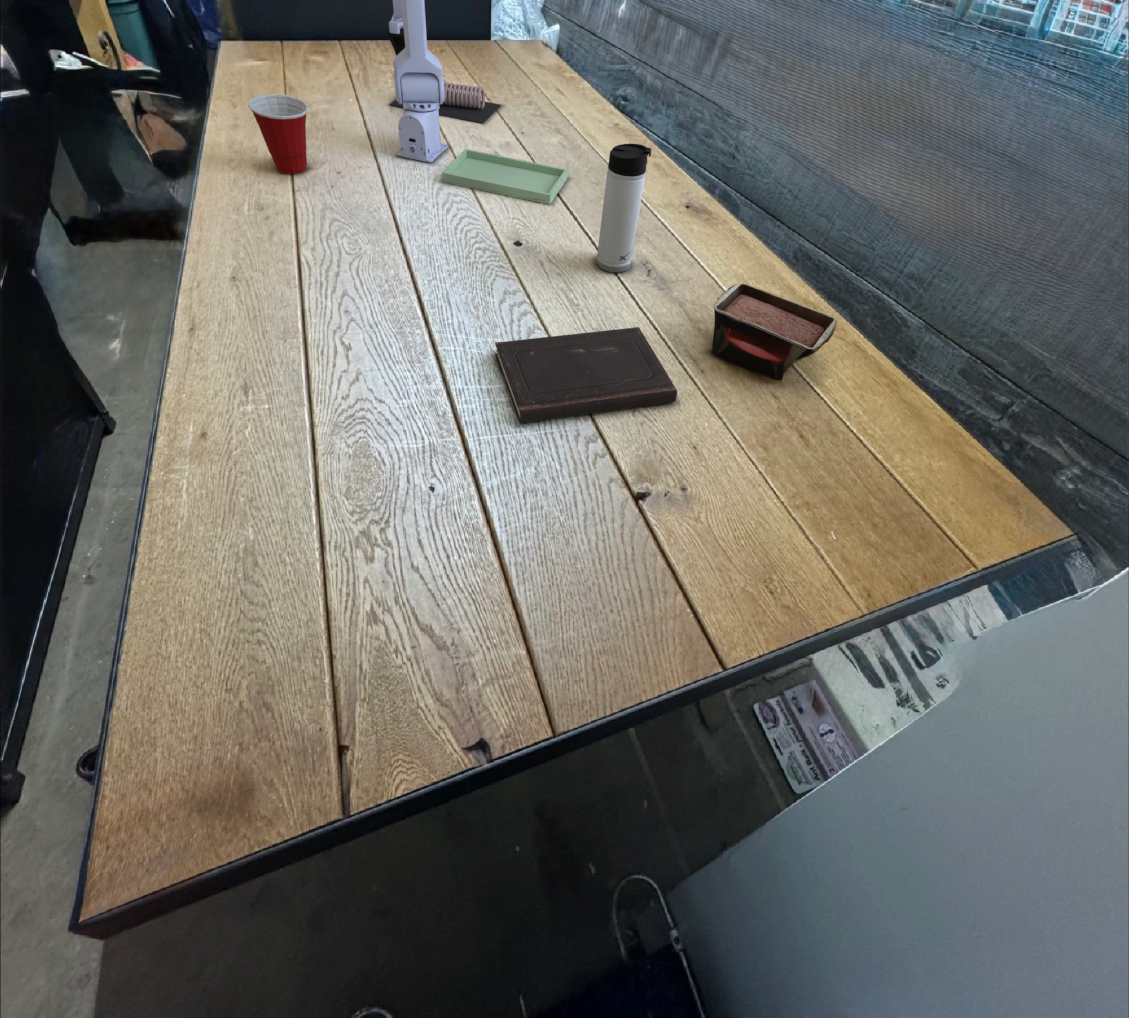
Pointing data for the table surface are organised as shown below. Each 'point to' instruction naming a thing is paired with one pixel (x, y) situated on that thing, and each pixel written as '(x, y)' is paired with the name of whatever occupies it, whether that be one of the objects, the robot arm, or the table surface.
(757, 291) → the baking dish
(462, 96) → the coil
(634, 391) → the hardcover book
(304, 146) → the plastic cup
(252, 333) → the table surface
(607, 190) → the travel mug
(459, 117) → the mat
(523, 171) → the tray
